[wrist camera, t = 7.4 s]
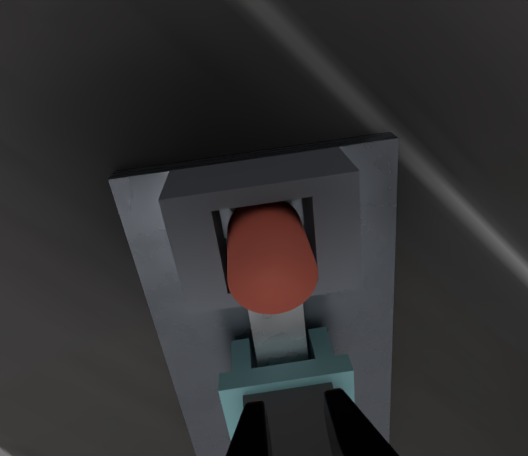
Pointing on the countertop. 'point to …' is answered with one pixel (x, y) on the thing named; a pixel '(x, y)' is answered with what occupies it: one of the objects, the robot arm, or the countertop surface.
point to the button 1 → (269, 258)
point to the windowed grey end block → (260, 192)
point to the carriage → (288, 394)
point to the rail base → (225, 325)
